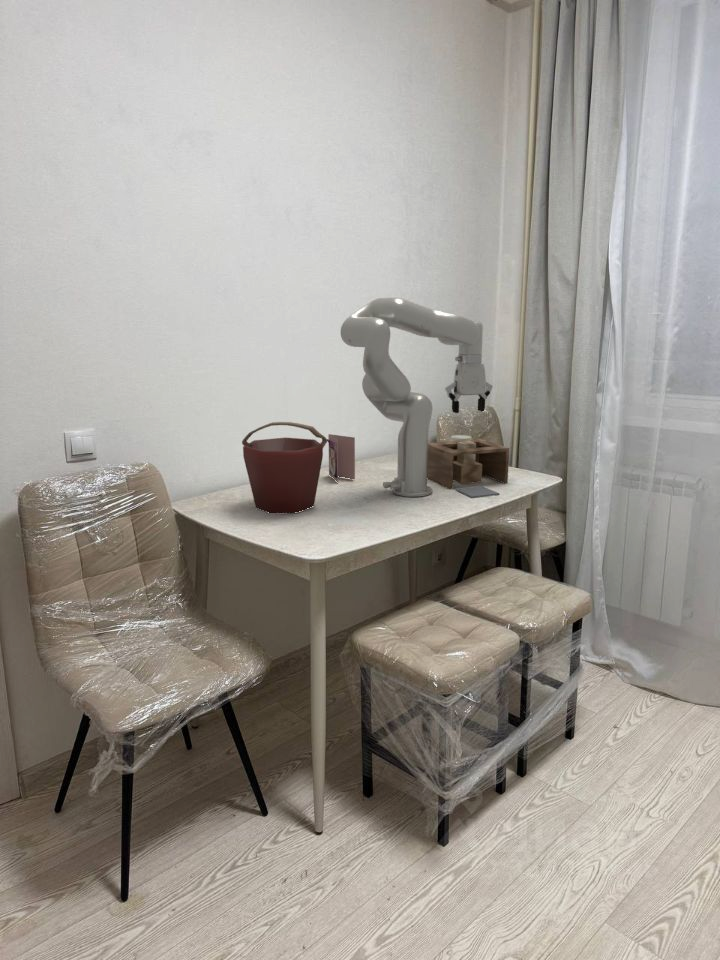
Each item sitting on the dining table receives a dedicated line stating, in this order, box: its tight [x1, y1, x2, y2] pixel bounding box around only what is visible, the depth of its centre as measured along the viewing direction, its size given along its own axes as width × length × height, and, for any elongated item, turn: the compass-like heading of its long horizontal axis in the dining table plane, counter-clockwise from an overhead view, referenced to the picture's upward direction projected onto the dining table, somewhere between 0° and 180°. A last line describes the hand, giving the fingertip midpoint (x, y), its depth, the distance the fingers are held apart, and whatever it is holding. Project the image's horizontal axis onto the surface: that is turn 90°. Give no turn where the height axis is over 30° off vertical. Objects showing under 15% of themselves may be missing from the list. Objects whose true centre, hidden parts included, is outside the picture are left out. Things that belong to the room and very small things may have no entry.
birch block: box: [457, 441, 476, 465], centre depth 226 cm, size 4×4×7 cm
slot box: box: [427, 438, 510, 490], centre depth 226 cm, size 22×18×12 cm
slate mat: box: [455, 485, 500, 499], centre depth 212 cm, size 10×10×1 cm
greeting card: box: [326, 433, 356, 483], centre depth 228 cm, size 11×7×15 cm, turn 18°
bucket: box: [241, 421, 329, 514], centre depth 193 cm, size 24×22×25 cm
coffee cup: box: [449, 434, 473, 441], centre depth 243 cm, size 8×8×12 cm
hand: (468, 411), depth 222 cm, fingers open, 9 cm apart
